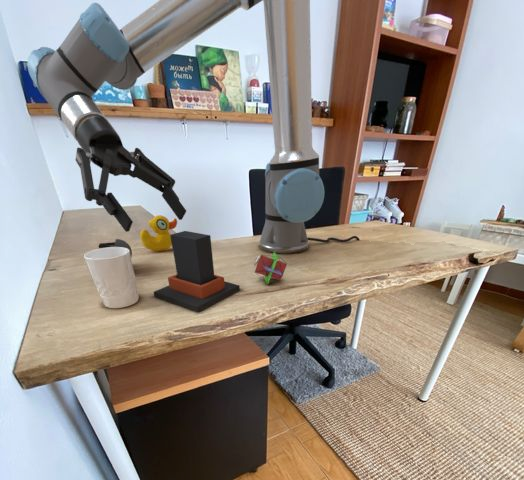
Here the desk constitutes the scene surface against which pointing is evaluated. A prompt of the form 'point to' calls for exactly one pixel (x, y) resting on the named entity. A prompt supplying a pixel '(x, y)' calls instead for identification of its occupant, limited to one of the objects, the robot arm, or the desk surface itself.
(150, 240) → the duckling
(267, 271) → the geometric puzzle
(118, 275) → the white cup
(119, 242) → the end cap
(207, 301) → the base pad
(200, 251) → the pad block
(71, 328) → the desk surface
